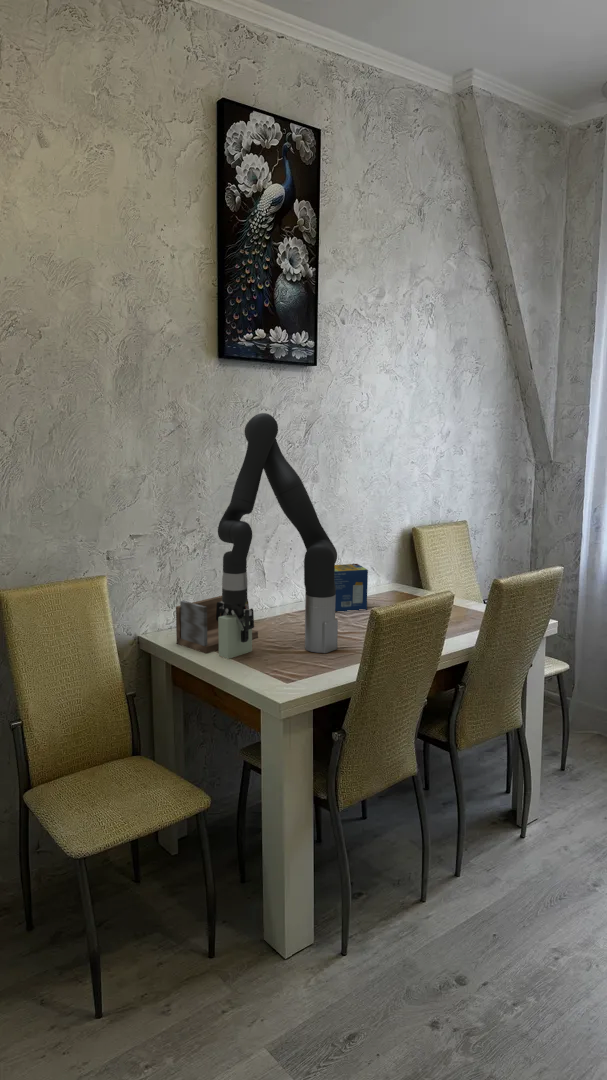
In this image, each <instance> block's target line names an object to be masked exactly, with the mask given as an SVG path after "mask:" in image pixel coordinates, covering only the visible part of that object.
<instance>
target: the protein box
mask: <svg viewBox="0 0 607 1080" xmlns="http://www.w3.org/2000/svg"><path fill="white" fill-rule="evenodd" d="M368 573H369V569H367V568H365V567H363V566H362V565H360V564H359V563H348V564H347V563H346V564H335V587H336V597H335V611H344V612H348V611H347V610H358V611H360V610H359V609H366V610H365V611H367V609H368V580H369V578H368V577H369V574H368Z"/></svg>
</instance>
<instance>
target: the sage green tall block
mask: <svg viewBox="0 0 607 1080" xmlns="http://www.w3.org/2000/svg"><path fill="white" fill-rule="evenodd" d="M240 620H243V617H242V618H241V619H240ZM243 625H244V623H243ZM249 625H250V621H249ZM244 626H245V625H244ZM218 629H219V650H218V657H220V656H222V657H221V658H223V657H224V659H226V658H227V660H229V658H230V659H232V658H235V657H239V656H241V655H245V654H247V653H251V652H252V651H253V639H252V630H253V628H252V629H249V635H248V636H249V639H248V641H247V642H244V643H243V642H241V628H240V625H239V624H237V622H236V617H234V616H232V615H225V616H221V617H218Z"/></svg>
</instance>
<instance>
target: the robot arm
mask: <svg viewBox="0 0 607 1080" xmlns="http://www.w3.org/2000/svg"><path fill="white" fill-rule="evenodd" d="M278 433H279V425H278V422H277V420H276V418H275V417H274V416H273V415H271V414H269V413H267V412H261V413H258V414H255V415H254V416H252V417H251V418H250V419H249V420H248V421H247V423H246V425H245V427H244V437H245V440H246V441H247V447H246V453H245V456H244V460H243V462H242V465H241V468H240V470H239V473H238V475H237V478H236V481H235V484H234V487H233V491H232V494H231V495H232V496H231V497H230V498H231V499H230V503H229V504H228V506H227V508H226V509H225V511H224V513H223V514H222V516H221V518H220V521H219V523H218V527H217V536H218V539H220V541H222V542H223V543H227V544H232V550H231V551H230V550H229V551H226V552H225V553H223V556H222V578H221V596H222V601H220V602H217V608H216V620H217V621H218V617H221V616H225V615H232V616H234V617H236V622H237V624H239V625H240V628H241V642H243V643H244V642H247V641H248V639H249V636H248V635H249V629H252V630H253V629H254V627H255V618H254V616H255V615H254V609H253V608H249V609H246V607H245V603H246V602H247V599H248V574H247V573H248V572H247V568H248V566H247V563H248V562H247V558H248V555H249V551H250V547H251V544H252V540H253V529H252V527H251V525H250V524H249V522H247V521H245V520H241V519H242V517H243V516H244V515H249V514H252V512H253V510H254V508H255V503H256V499H257V496H258V491H259V487H260V484H261V479H262V475H263V472H264V473H265V476H266V479H267V481H268V483H269V485H270V487H271V489H272V492H273V494H274V496H275V499H276V501H277V503H278V505H279V507H280V508H281V511H282V512H283V514H284V515H285V516H286V518H287V519H288V521H290V523H291V524H292V525H293V526H294V528H295V529H296V530H297V532H298V535H299V536H300V538H301V540H302V543H303V544H304V547H305V551H306V552H305V554H304V561H303V573H304V574H303V575H304V576H303V577H304V578H303V579H304V581H303V583H304V589H305V592H304V593H305V594H304V596H305V601H304V605H305V606H304V609H305V610H304V649H305V650H306V651H308V652H312V653H319V654H320V653H322V654H327V653H330V652H333V651H335V650H338V629H339V628H338V627H339V624H338V623H339V622H338V621H339V620H338V619H337V618H336V612H335V597H336V587H335V565H336V563H337V559H338V552H337V549H336V547H335V545H334V544H333V542H332V540H331V539H330V537H329V536H328V534H327V532H326V531H325V529H324V528H323V526H322V523H321V521H320V520H319V517H318V514H317V512H316V509H315V507H314V504H313V502H312V501H311V498H310V496H309V493H308V491H307V489H306V487H305V484H304V483H303V481H302V479H301V477H300V476H299V474H298V473H297V472H296V470H295V469H294V468H293V467H292V465H291V464H290V463H289V461H288V460H287V459H286V457H285V456H284V454H283V453H282V451H281V450H282V449H281V448H280V445H279V443H278V441H277V436H278ZM220 613H221V616H220ZM242 617H243V620H240V619H241V618H242ZM249 621H250V625H249ZM243 623H244V625H245V626H244V625H243Z"/></svg>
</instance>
